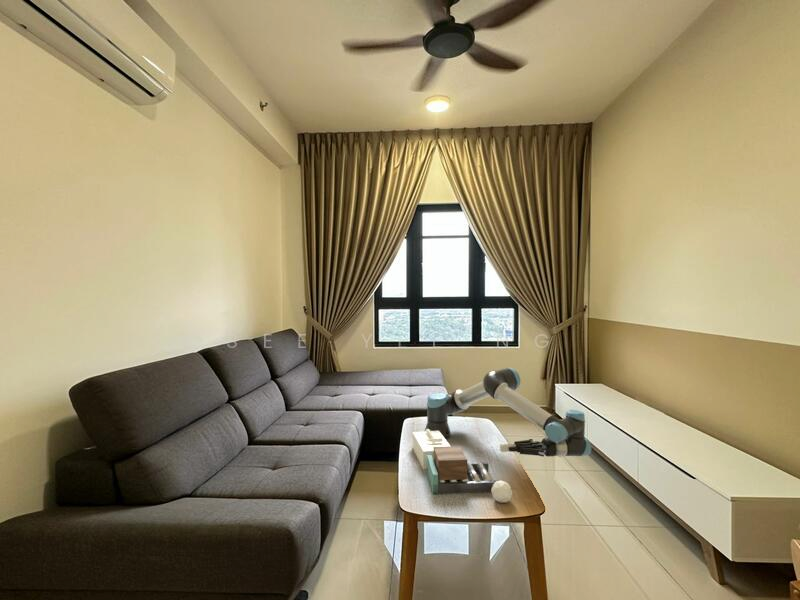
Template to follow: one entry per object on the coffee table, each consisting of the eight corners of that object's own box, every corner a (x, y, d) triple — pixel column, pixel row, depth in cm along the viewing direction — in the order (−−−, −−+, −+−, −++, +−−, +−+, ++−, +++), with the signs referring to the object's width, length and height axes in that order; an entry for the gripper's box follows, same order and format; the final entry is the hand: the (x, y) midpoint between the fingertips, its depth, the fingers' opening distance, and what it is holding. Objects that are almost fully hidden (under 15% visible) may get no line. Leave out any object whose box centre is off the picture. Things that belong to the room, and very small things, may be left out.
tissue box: (423, 470, 170) (423, 446, 170) (412, 448, 195) (412, 427, 195) (453, 467, 173) (453, 444, 173) (438, 446, 197) (438, 426, 197)
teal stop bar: (427, 472, 167) (427, 455, 167) (431, 472, 167) (431, 454, 167) (433, 494, 149) (433, 474, 149) (438, 494, 149) (438, 474, 149)
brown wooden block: (433, 464, 165) (433, 446, 165) (459, 463, 166) (459, 446, 166) (438, 479, 151) (438, 460, 151) (467, 479, 152) (467, 459, 152)
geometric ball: (496, 507, 144) (485, 486, 148) (513, 497, 146) (502, 477, 149) (500, 507, 137) (489, 485, 141) (518, 497, 139) (507, 475, 143)
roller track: (427, 472, 167) (427, 462, 167) (487, 470, 169) (487, 460, 169) (433, 494, 149) (433, 483, 149) (500, 491, 150) (500, 480, 150)
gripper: (560, 462, 154) (505, 463, 153) (546, 449, 167) (495, 450, 166) (560, 444, 154) (505, 445, 153) (546, 432, 167) (495, 433, 166)
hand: (500, 448), depth 159 cm, fingers closed
